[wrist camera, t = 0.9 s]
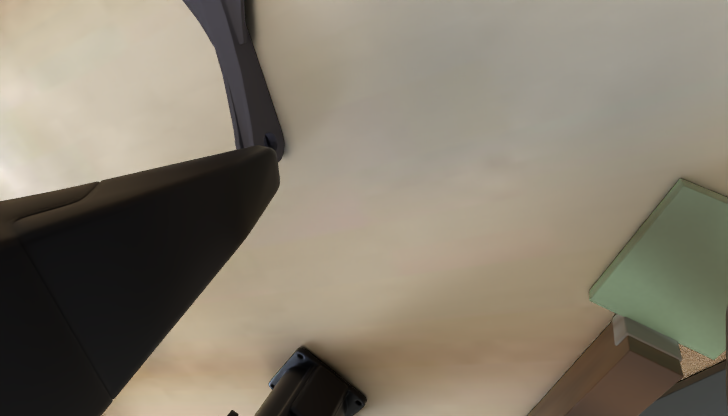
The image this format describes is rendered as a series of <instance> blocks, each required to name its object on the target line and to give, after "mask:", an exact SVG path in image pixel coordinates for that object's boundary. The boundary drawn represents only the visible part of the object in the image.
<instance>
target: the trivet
mask: <svg viewBox="0 0 728 416" xmlns="http://www.w3.org/2000/svg"><path fill="white" fill-rule="evenodd" d="M638 416H728V405H727V395H726V361H724V362H721V363H719V364H717V365H715V366H713V367H711V368H708V369H706V370H704V371H702V372H700V373H698V374H695V375H693V376H691V377H689V378H687V379H685V380H682V381H680V382H678V383H676V384H675V385H673V386H672V387H671V388H670V389H669V390H668V391H666V392H665V393H664V394H663V395H662V396H661V397H659V398H658V399H657V400H656V401H655V402H654V403H652V404H651V405H650V406H649V407H648V408H646V409H645V410H644V411H643V412H642V413H641V414H639V415H638Z"/></svg>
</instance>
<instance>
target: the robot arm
mask: <svg viewBox="0 0 728 416" xmlns="http://www.w3.org/2000/svg"><path fill="white" fill-rule="evenodd" d="M279 185H280V176H279V168H278V161H277V154H276V152H275V150H273V149H272V148H268V147H264V146H260V145H256V146H251V147H247V148H243V149H238V150H234V151H229V152H225V153H221V154H216V155H212V156H207V157H203V158H199V159H194V160H190V161H185V162H181V163H177V164H172V165H168V166H163V167H159V168H155V169H150V170H146V171H142V172H137V173H133V174H128V175H124V176H120V177H115V178H111V179H106V180H102V181H101V182H93V183H89V184H84V185H80V186H75V187H70V188H66V189H61V190H57V191H52V192H47V193H42V194H37V195H31V196H26V197H21V198H16V199H10V200H5V201H0V416H101V415H102V414H103V412H104V411H105V410H106V409H107V408H108V406H109V405H110V404H111V403H112V401H113V400H112V399H114V398H115V397H116V396H117V395H118V394H119V393H120V391H121V390H122V389H123V388H124V386H125V385H126V384H127V383H128V382H129V380H130V379H131V378H132V377H133V375H134V374H135V373H136V372H137V371H138V369H139V368H140V367H141V366H142V365H143V363H144V362H145V361H146V360H147V358H148V357H149V356H150V355H151V354H152V352H153V351H154V350H155V349H156V347H157V346H158V345H159V344H160V343H161V341H162V340H163V339H164V338H165V337H166V335H167V334H168V333H169V332H170V330H171V329H172V328H173V327H174V326H175V324H176V323H177V322H178V321H179V319H180V318H181V317H182V316H183V315H184V313H185V312H186V311H187V310H188V309H189V307H190V306H191V305H192V304H193V302H194V301H195V300H196V299H197V298H198V296H199V295H200V294H201V293H202V291H203V290H204V289H205V288H206V287H207V285H208V284H209V283H210V282H211V281H212V279H213V278H214V277H215V276H216V274H217V273H218V272H219V271H220V270H221V268H222V267H223V266H224V265H225V263H226V262H227V261H228V260H229V259H230V257H231V256H232V255H233V254H234V253H235V251H236V250H237V249H238V248H239V246H240V245H241V244H242V243H243V241H244V240H245V239H246V237H247V236H248V234H249V233H250V232H251V230H252V229H253V227H254V226H255V224H256V223H257V221H258V219H259V218H260V216H261V215H262V213H263V212H264V210H265V209H266V207H267V206H268V204H269V203H270V201H271V200H272V198H273V197H274V195H275V194H276V192H277V190H278V188H279ZM269 387H270V388H271V389H272V391H271V393H270V394H269V396H268V397H267V399H266V400H265V401H264V403H263V404H262V406H261V407H260V408H259V410H258V411H257V413H256V414H255V416H353V415H354V414H355V413H357V412H358V411H359V410H361V409H362V408H363V407H364V406H365V404H366V402H367V400H366V398H365V397H364V396H363V395H362V394H361V393H359V392H358V391H357V390H356V389H354V388H353V387H352V386H351V385H349V384H348V383H347V382H346V381H344V380H343V379H342V378H341V377H339V376H338V375H337V374H336V373H335V372H333V371H332V370H331V369H330V368H328V367H327V366H326V365H325V364H323V363H322V362H321V361H320V360H318V359H317V358H316V357H315V356H313V355H312V354H311V353H310V352H308V351H307V350H306V349H304V348H298V349H297V350H296V352H295V353H294V354H293V355H292V356H291V357H290V358H289V360H288V361H287V362H286V363H285V364H284V365H283V367H282V368H281V369H280V370H279V371H278V372H277V374H276V375H275V376H274V377H273V378H272V379H271V381H270V382H269ZM726 395H727V405H728V306H727V309H726ZM227 416H238V414H237V413H236V412H235V411H233V410H232V411H231V412H230V413H229V414H228V415H227Z"/></svg>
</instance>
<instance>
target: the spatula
mask: <svg viewBox="0 0 728 416" xmlns="http://www.w3.org/2000/svg"><path fill="white" fill-rule="evenodd" d="M589 300H590V301H591V302H593V303H595V304H597V305H600V306H602V307H604V308H606V309H608V310H610V311H612V312H614V313H616V315H615V316H614V317H613V319H612V322H611V323H610V324H609V326H608V327H607V328H606V329H605V330H604V331H603V332H602V333H601V334H600V336H599V337H598V338H597V339H596V340H595V341H594V342H593V343H592V344H591V346H590V347H589V348H588V349H587V350H586V351H585V352H584V353H583V354H582V356H581V357H580V358H579V359H578V360H577V361H576V362H575V363H574V364H573V366H572V367H571V368H570V369H569V370H568V371H567V372H566V373H565V374H564V376H563V377H562V378H561V379H560V380H559V381H558V382H557V383H556V384H555V385H554V387H553V388H552V389H551V390H550V391H549V392H548V393H547V394H546V395H545V397H544V398H543V399H542V400H541V401H540V402H539V403H538V404H537V405H536V407H535V408H534V409H533V410H532V411H531V412H530V413H529V414H528V415H527V416H638V415H639V414H641V413H642V412H643V411H644V410H645V409H646V408H648V407H649V406H650V405H651V404H652V403H654V402H655V401H656V400H657V399H658V398H659V397H661V396H662V395H663V394H664V393H665V392H666V391H668V390H669V389H670V388H671V387H672V386H673V385H675V384H676V383H677V382H678V381H679V380H680V379H682V378H683V373H682V369H681V365H680V362H681V361H682V356H681V352H680V349H679V345H678V343H679V344H681V345H683V346H685V347H688V348H690V349H692V350H694V351H696V352H698V353H700V354H702V355H704V356H706V357H708V358H711V359H713V360H715V359H716V358H717V357H718V356H719V355H721V354H722V353H723V352H724V351H725V350H726V309H727V306H728V198H727V197H725V196H722V195H720V194H718V193H715V192H713V191H710V190H708V189H705V188H703V187H701V186H698V185H696V184H693V183H691V182H688V181H686V180H683V179H679V180H678V182H677V183H676V184H675V185H674V187H673V188H672V189H671V190H670V192H669V193H668V194H667V195H666V197H665V198H664V199H663V200H662V201H661V203H660V204H659V205H658V206H657V208H656V209H655V210H654V211H653V213H652V214H651V215H650V216H649V218H648V219H647V220H646V221H645V223H644V224H643V225H642V226H641V227H640V229H639V230H638V231H637V232H636V234H635V235H634V236H633V237H632V239H631V240H630V241H629V242H628V244H627V245H626V246H625V247H624V249H623V250H622V251H621V252H620V253H619V255H618V256H617V257H616V258H615V260H614V261H613V262H612V263H611V265H610V266H609V267H608V268H607V270H606V271H605V272H604V273H603V275H602V276H601V277H600V278H599V279H598V281H597V282H596V283H595V284H594V286H593V287H592V288H591V289H590V291H589Z"/></svg>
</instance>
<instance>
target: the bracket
mask: <svg viewBox="0 0 728 416" xmlns="http://www.w3.org/2000/svg"><path fill="white" fill-rule="evenodd" d="M244 1H245V0H183V2H184V3H185V4H186V5H187V7H188V8H189V9H190V10H191V12H192V13H193V14H194V16H195V17H196V18H197V20H198V21H199V23H200V24H201V26H202V27H203V29H204V31H205V32H206V34H207V36H208V37H209V39H210V41H211V42H212V44H213V46H214V47H215V50H216V54H217V57H218V61H219V64H220V67H221V71H222V74H223V79H224V84H225V89H226V94H227V99H228V103H229V108H230V113H231V118H232V123H233V129H234V135H235V145H236V149H237V150H238V149H243V148H247V147H251V146H256V145H260V146H264V147H268V148H272V149H273V150H275V152H276V154H277V161H278V162H279V161H280V160H281V159H282V156H283V153H284V140H283V135H282V131H281V128H280V125H279V122H278V119H277V116H276V113H275V110H274V107H273V104H272V101H271V98H270V95H269V92H268V89H267V86H266V83H265V80H264V77H263V74H262V71H261V68H260V65H259V62H258V59H257V56H256V53H255V50H254V47H253V44H252V41H251V38H250V35H249V32H248V29H247V26H246V22H245V8H244Z"/></svg>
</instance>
